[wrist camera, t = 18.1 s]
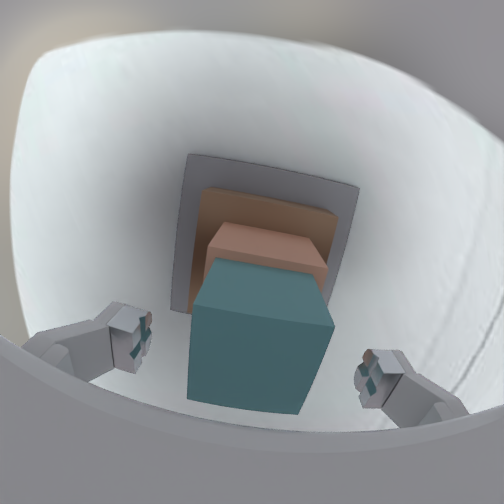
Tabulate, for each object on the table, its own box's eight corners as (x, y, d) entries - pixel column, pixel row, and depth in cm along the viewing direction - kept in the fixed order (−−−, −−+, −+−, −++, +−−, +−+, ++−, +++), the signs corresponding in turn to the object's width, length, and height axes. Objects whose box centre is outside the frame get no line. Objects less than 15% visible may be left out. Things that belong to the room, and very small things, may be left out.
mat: (315, 331, 22) (316, 335, 21) (172, 306, 22) (170, 309, 21) (357, 187, 18) (359, 188, 18) (190, 154, 18) (187, 153, 17)
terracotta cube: (289, 312, 17) (297, 362, 13) (212, 298, 17) (195, 344, 12) (309, 238, 16) (328, 268, 11) (224, 221, 16) (207, 245, 11)
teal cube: (289, 350, 12) (298, 414, 9) (205, 337, 12) (186, 398, 8) (312, 274, 11) (335, 326, 7) (215, 257, 11) (192, 303, 7)
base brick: (299, 311, 21) (305, 333, 18) (196, 293, 20) (187, 312, 18) (327, 209, 18) (338, 217, 15) (211, 186, 18) (202, 190, 15)
